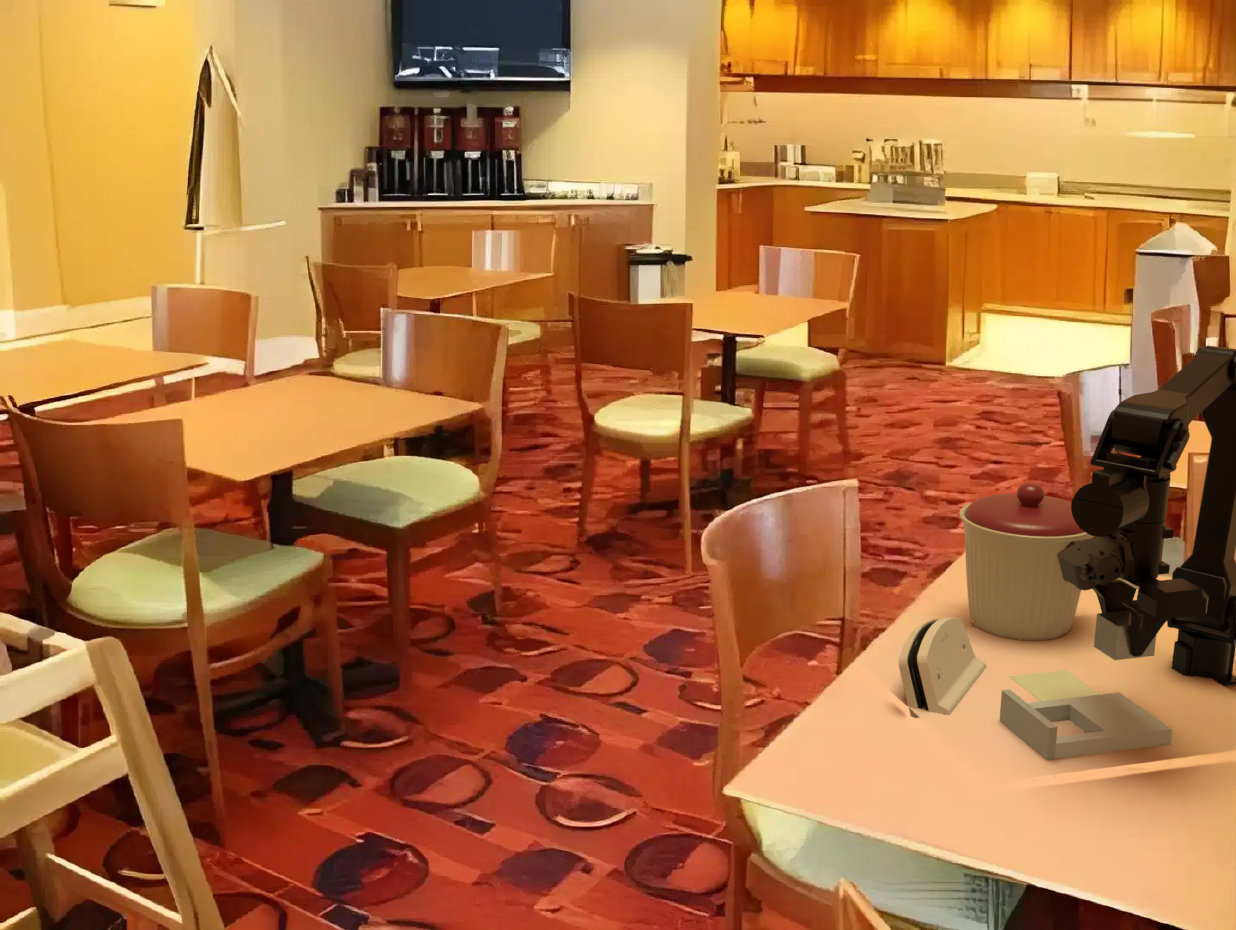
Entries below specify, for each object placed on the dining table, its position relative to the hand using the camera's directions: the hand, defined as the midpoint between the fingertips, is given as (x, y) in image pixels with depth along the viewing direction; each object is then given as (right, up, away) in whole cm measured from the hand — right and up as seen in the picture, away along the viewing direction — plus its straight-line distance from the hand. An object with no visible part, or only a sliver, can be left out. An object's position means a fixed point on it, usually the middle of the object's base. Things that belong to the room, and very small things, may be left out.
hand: (1124, 648), depth 152 cm
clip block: (0, 0, 0) cm, 0 cm away
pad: (-4, -8, +14) cm, 16 cm away
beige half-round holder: (-17, -8, +15) cm, 24 cm away
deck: (-4, -11, +2) cm, 12 cm away
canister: (-2, -2, +34) cm, 34 cm away
